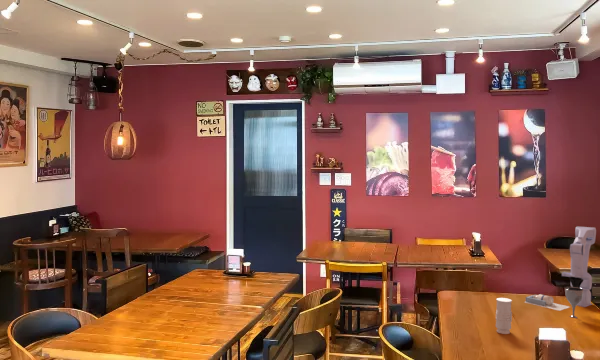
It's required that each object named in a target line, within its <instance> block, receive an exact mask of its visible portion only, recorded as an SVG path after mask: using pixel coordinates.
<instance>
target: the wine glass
mask: <svg viewBox="0 0 600 360" xmlns="http://www.w3.org/2000/svg"><path fill="white" fill-rule="evenodd" d="M564 291H565V298H566V300H567V301H568V303H569V304H570V305H571V309H572V315H570V316H568V317H569V318H572V319H578V316H576V315H575V311H576V307H577V304H578V303H579V302H580V301H581V300H582V297H583V289H581V288H577V287H571V286H566V287H565V289H564Z"/></svg>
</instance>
